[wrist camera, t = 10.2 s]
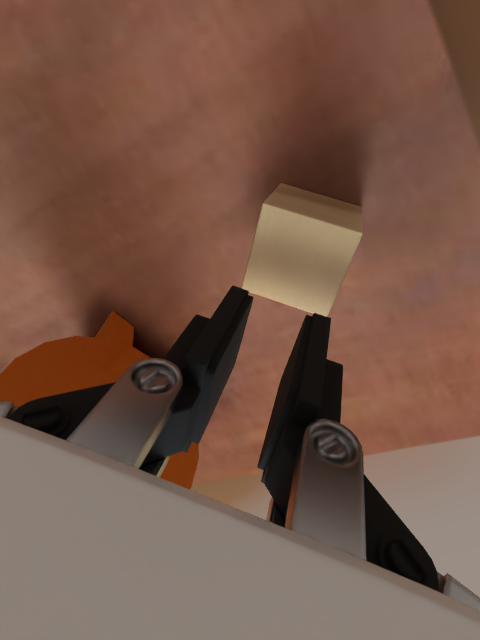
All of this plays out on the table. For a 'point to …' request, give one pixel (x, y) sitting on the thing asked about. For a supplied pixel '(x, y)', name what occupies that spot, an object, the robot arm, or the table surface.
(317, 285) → the block
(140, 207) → the table surface
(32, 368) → the alarm clock
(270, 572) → the robot arm
